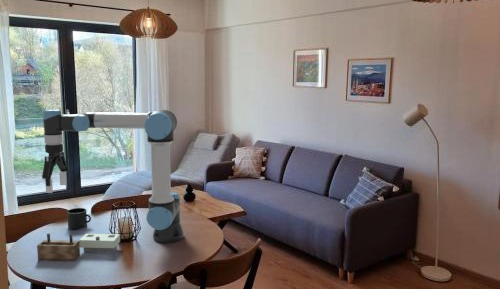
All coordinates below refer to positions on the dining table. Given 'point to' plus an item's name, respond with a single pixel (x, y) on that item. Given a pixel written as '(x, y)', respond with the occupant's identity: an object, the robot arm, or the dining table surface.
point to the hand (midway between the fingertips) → (56, 188)
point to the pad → (100, 250)
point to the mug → (77, 218)
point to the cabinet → (58, 250)
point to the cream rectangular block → (99, 240)
